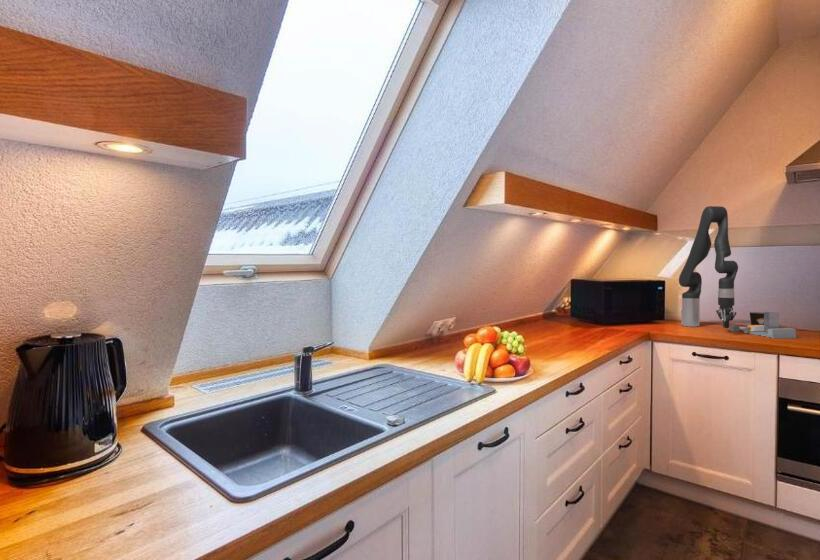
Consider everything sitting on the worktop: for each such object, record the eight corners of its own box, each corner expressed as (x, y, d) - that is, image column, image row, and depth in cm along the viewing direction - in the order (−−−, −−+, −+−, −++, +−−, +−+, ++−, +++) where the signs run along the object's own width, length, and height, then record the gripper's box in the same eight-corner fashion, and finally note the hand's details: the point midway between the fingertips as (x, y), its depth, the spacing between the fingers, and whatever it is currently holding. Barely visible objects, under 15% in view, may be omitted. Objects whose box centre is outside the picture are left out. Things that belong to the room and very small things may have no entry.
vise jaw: (729, 330, 248) (729, 325, 248) (769, 330, 249) (769, 324, 249) (734, 331, 245) (734, 326, 245) (774, 331, 245) (774, 325, 245)
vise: (743, 332, 251) (743, 324, 251) (764, 332, 252) (764, 324, 252) (773, 338, 231) (773, 329, 231) (796, 338, 232) (796, 329, 232)
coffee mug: (747, 330, 261) (747, 312, 261) (751, 328, 267) (751, 311, 267) (773, 332, 253) (773, 314, 252) (776, 330, 258) (776, 312, 258)
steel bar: (763, 332, 242) (764, 311, 241) (773, 332, 242) (773, 311, 241) (769, 333, 238) (769, 312, 238) (778, 333, 238) (778, 312, 238)
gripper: (741, 297, 246) (741, 329, 246) (724, 295, 259) (724, 326, 259) (728, 297, 246) (727, 329, 246) (711, 296, 259) (711, 326, 259)
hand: (725, 327), depth 253 cm, fingers closed
